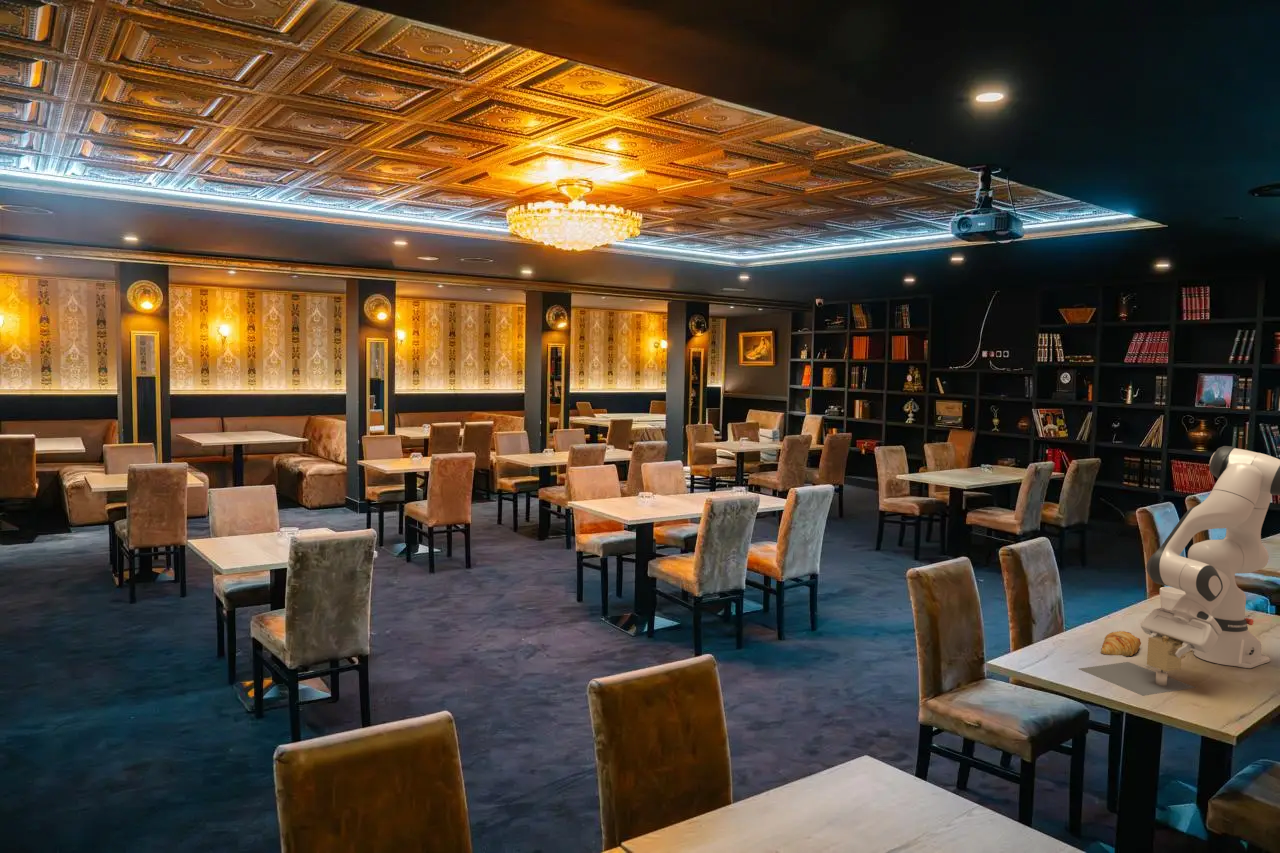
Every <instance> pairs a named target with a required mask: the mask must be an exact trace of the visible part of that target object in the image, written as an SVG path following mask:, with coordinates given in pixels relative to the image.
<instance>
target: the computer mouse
mask: <svg viewBox="0 0 1280 853" xmlns="http://www.w3.org/2000/svg"><path fill="white" fill-rule="evenodd" d="M1155 672H1156V684H1158V685H1162V686H1166V685H1167V677H1168V671H1164V670H1161V669H1160V670H1156V671H1155Z"/></svg>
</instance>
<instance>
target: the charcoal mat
mask: <svg viewBox="0 0 1280 853" xmlns="http://www.w3.org/2000/svg"><path fill="white" fill-rule="evenodd" d="M1078 670H1080V671H1081V672H1085V673H1086V674H1089V675H1092V676H1094V677H1096V678H1099V679H1101V680H1104V681H1105V682H1108V683H1112V684H1113V685H1116V686H1119V687H1121V688H1123V689H1126V690H1128V691H1130V692H1133V693H1135V694H1138V695H1140V696H1144V697H1145V696H1149V695H1156V694H1157V695H1158V694H1163V693H1170V692H1175V691H1181V690H1188V689H1195V688H1196V686H1193V685H1190V684H1188V683H1185V682H1182V681H1179V680H1177V679H1174V678H1172V677H1169V676H1167V685H1166V686H1162V685H1158V684H1156V671H1154V670H1152V669H1148V668H1146V667H1143V666H1141V665H1138V664H1135V663H1132V662H1130V661H1123V662H1118V663H1110V664H1103V665H1102V664H1101V665H1096V666H1095V665H1094V666H1088V667H1081V668H1078Z"/></svg>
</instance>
